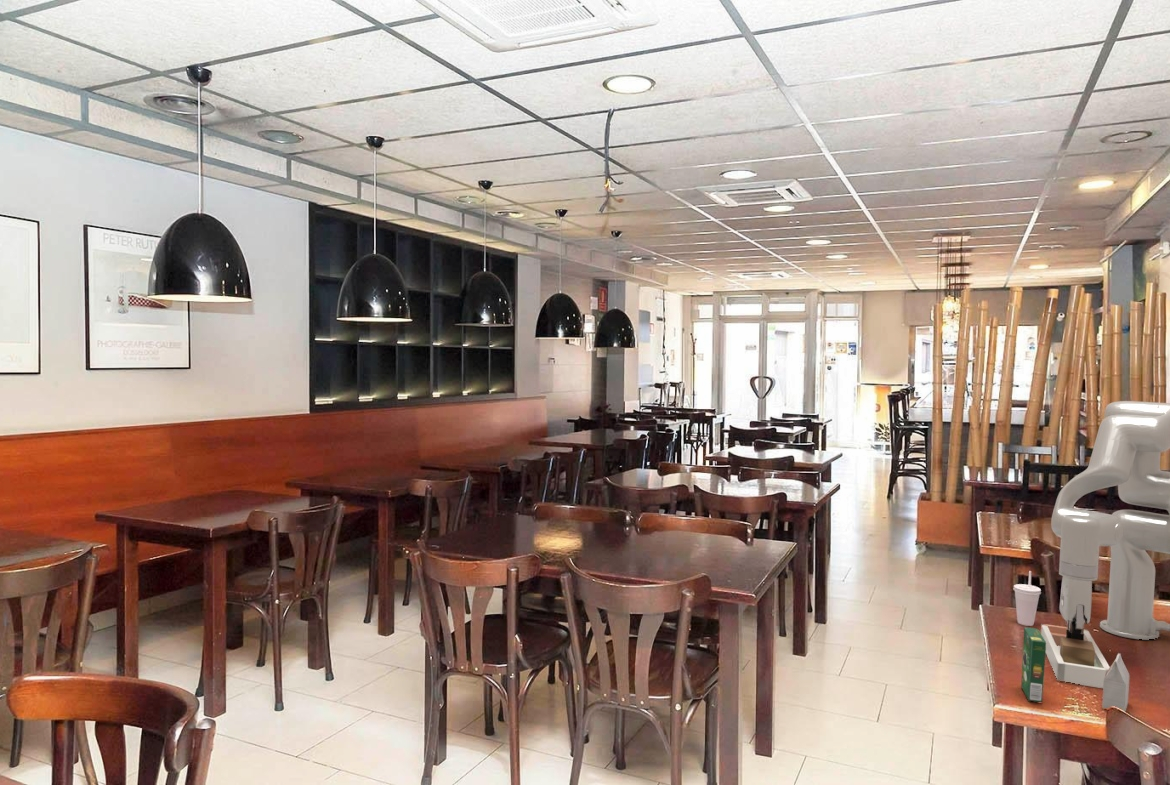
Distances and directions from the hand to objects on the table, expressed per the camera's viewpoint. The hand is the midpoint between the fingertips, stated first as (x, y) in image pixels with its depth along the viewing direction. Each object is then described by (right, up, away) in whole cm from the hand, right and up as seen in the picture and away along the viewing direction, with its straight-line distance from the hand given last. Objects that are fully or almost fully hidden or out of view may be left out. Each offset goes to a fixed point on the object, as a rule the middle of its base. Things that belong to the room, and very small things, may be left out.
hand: (1074, 648), depth 181 cm
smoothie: (+4, -3, +28) cm, 28 cm away
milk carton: (-5, -5, -22) cm, 23 cm away
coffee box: (-20, -4, -17) cm, 27 cm away
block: (-2, -1, -5) cm, 5 cm away
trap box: (0, -4, +1) cm, 4 cm away
